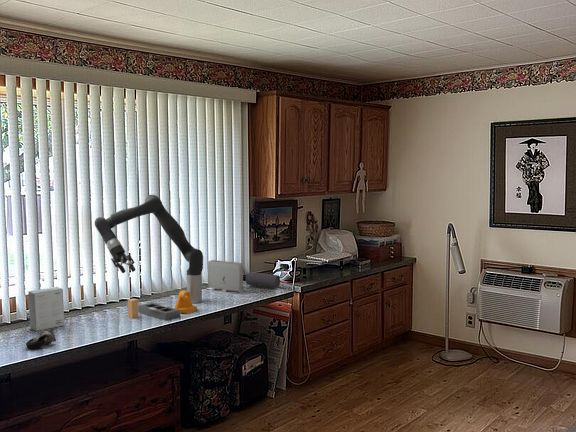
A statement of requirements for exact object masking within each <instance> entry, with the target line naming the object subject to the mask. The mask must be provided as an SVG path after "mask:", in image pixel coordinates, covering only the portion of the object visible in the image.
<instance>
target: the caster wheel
mask: <svg viewBox="0 0 576 432" xmlns="http://www.w3.org/2000/svg"><path fill="white" fill-rule="evenodd" d="M38 333H39V334H38V335H37V336H36V337H33V338H30V340H27V342H26V343H25V345H26V348H27V350H36V349H39V348H41V349H45V348H48V347H49V346H50V345H51V344H52V343H54V342H57V339H56V335H55V333H54V329H53V328H49V329H44V330H39V331H38Z"/></svg>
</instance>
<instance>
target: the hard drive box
mask: <svg viewBox="0 0 576 432" xmlns="http://www.w3.org/2000/svg"><path fill="white" fill-rule="evenodd" d="M27 293H28V294H27V295H28V309H29V310H28V311H29V326H30V327H29V328H30V329H31V330H33V331H34V332H37V331H38V332H39V331H43V330H48V329H53V328H58V327H62V326H65V311H64V309H65V308H64V307H65V305H64V289H63V288H62V287H58V286H53V287H47V288H41V289H33V290H29V291H28V292H27Z"/></svg>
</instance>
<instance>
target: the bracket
mask: <svg viewBox="0 0 576 432" xmlns="http://www.w3.org/2000/svg"><path fill="white" fill-rule="evenodd" d="M190 298H191V293H190V292H188V291H187V290H180V291H179V294H178V295H177V300H176V302H175V307H174V309H178V310H180V314H190V313H194V312H195V311H198V306H196V305H194V304H193V303H192V302H191V299H190Z"/></svg>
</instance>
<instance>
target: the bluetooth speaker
mask: <svg viewBox="0 0 576 432" xmlns="http://www.w3.org/2000/svg"><path fill="white" fill-rule="evenodd" d="M245 284H246V285H249V286H253V287H255V288H258V289H267V290H269V289H270V288H275V289H276V288H279V287H280V284H281V277H280V275H277V274H271V273H270V274H269V273H264V272H247V274H246V275H245Z"/></svg>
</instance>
